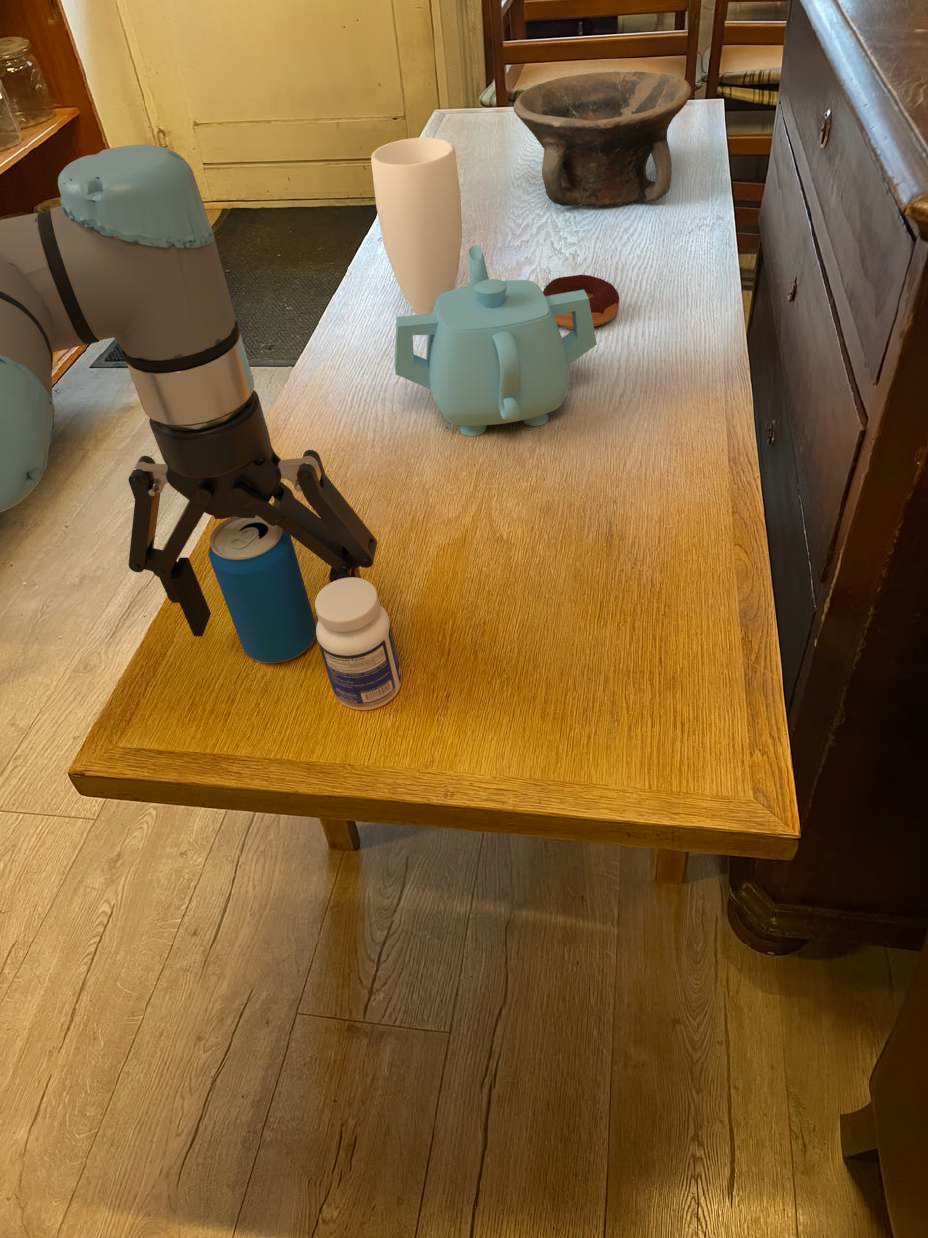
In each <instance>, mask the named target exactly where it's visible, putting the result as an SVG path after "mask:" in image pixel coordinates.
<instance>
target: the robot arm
mask: <svg viewBox="0 0 928 1238" xmlns="http://www.w3.org/2000/svg"><path fill="white" fill-rule="evenodd" d="M57 186H58V191H59V193H60V194H59V195H60V199H59V203H60V206H56V207H51V208H50V209H49V210H45V211H39V212H35V213H29V214H24V215H20V216H19V215H18V216H14V217H9V218H4V219H0V513H3V512H5V511H8V510H9V509H11V508H14V507H16V506H17V505H18V504H20V503H21V502H23V501H24V500H25V499H26V498H27V497H28V496H29V495H30V494H31V493H32V492H33V491H34V489H35V488H37V486H38V484H39V483H40V481H41V480H42V477H43V476H44V474H45V473H46V470H47V465H48V457H49V455H48V454H49V450H50V444H51V442H52V440H53V437H54V433H55V430H56V423H55V412H56V409H55V408H56V407H55V404H54V402H53V365H54V364H53V363H54V353H57V352H61V351H66V350H69V349H74V348H78V347H82V346H89V345H92V344H95V343H99V342H100V341H103V340H108V339H116V341H117V343H118V346H119V347H120V351H121V354H122V357H123V359H124V361H125V363H126V366H127V368H128V371H129V374H130V377H131V380H132V382H133V385H134V387H135V390H136V393H137V396H138V399H139V400H140V404H141V407H142V409H143V411H144V413H145V415H146V416H148V417H149V426H150V429H151V431H152V434H153V437H154V439H155V442H156V445H157V447H158V450H159V452H160V455H161V458H162V460H163V462H164V463H156V461H155V459H153V458H152V457H151V456H149V455H142V456H140V457H139V459H138V460H137V462H136V464H135V466H134V468H133V470H132V471H131V473H130V475H129V477H128V484H129V486H130V489H131V493H132V495H133V498H134V505H133V506H134V507H133V517H132V526H131V536H130V545H129V546H130V547H129V556H128V568H129V570H130V571H132V572H135V573H142V572H143V571H144V570H145V571H149V572H152V573H153V575H155V576H156V577H157V578H159V580H160V582H161V584H162V587H163V589H164V591H165V593H166V596H167V598H168V600H169V601H170V602H171V603H172V604H179V605H180V608H181V610H182V613H183V614H184V617H185V619H186V622H187V624H188V627H189V628H190V631H191V633H192V636H193V637H199V638H200V637H203V636H204V634H205V631H206V628H207V626H208V623H209V621H210V618H211V616H212V612H211V611H210V608H209V605H208V602H207V600H206V597H205V595H204V593H203V590H202V587H201V585H200V583H199V580H198V578H197V575H196V573H195V571H194V568H193V566H192V563H191V561H190V558H189V557H185V556H184V557H180V555H181V554H182V551H183V550H184V548H185V546H186V544H187V543H188V541H189V539H190V538H191V535H192V534H193V532H194V530H195V529H196V528H197V526H198V524H199V522H200V521H201V520H202V517H203V515H204V514H207V515H208V516H211V517H213V518H214V520H226V519H228V518H230V517H234V516H235V517H240V518H255V516H256V515H258V516H259V517H260V518H262V519H263V520H264V521H266V522H267V523H268V524H270V525H271V526H276V525H277V526H279V527H280V528H282V529H283V530H284V531H286V532H287V533H288V534H290V535H291V538H292V539H295V540H296V541H297V542H299V543H300V544H301V545H302V546H304V547H305V548H306V549H308V550H309V551H310V552H311V553H313V554H314V555H315V556H316V557H318V558H320V560H322V561H323V562H325V563H326V564H327V565H328V566H329V567H331V568H330V570H329V575H328V579H329V583H331V582H333V581H336V580H339V579H342V578H349V577H355V578H361V579H362V574H361V570H360V568H366V569H367V568H371V567H373V565H374V562H375V556H376V551H377V548H378V540H377V538H376V537H375V535H374V534H373V533H372V532H371V531H370V529H369V528H368V527H367V525H366V524H365V523H364V521H363V520H362V519H361V518H360V516H359V515H358V514H357V513H356V512H355V510H354V509H353V507H352V506H351V505H350V504H349V502H348V501H347V500H346V499H345V498H344V496H343V495H342V494H341V492H340V490H339V489H337V487H336V486H335V485H334V483H333V482H332V481H331V479H329V477H328V476H327V474H326V472H325V468H324V466H323V462H322V459H321V456H320V454H319V453H318V452H317V451H316V450H313V449H307V450H305V451H304V452H303V455H302V457H299V458H289V459H281V457H280V456H279V455H278V454H277V453H276V452H275V451H274V449H273V446H272V442H271V437H270V432H269V429H268V426H267V421H266V418H265V414H264V411H263V407H262V404H261V400H260V398H259V394H258V393H257V391H256V390H255V382H254V381H255V379H254V377H253V376H254V375H253V374H252V370H251V366H250V363H249V358H248V356H247V351H246V349H245V345H244V340H243V338H242V335H241V331H240V329H239V324H238V322H237V317H236V313H235V309H234V305H233V302H232V298H231V295H230V292H229V287H228V284H227V279H226V276H225V272H224V269H223V265H222V260H221V258H220V253H219V249H218V246H217V241H216V239H215V234H214V231H213V228H212V225H211V223H210V220H209V219H210V218H209V216H208V213H207V211H206V210H207V209H206V208H205V204H204V201H203V199H202V198H203V197H202V195H201V192H200V190H199V189H200V188H199V186H198V183H197V180H196V177H195V175H194V172H193V169H192V167H191V166H190V164H189V162H187V161H186V160H185V158H184V157H182V156H181V155H180V154H179V153H178V152H176V151H174V150H173V149H170V148H168V147H165V146H160V145H154V144H130V145H122V146H117V147H111V148H110V147H109V148H106V149H103V150H100V151H99V152H98V153H94V154H89V155H85V156H81V157H79V158H77V159H75V160H73V161H71V162H70V163H68V164H67V165H66V166H65V167H64V168H63V169H62V170H61V172H60V173H59V174H58V177H57ZM283 479H284V480H288V481H289V482H290V483H291V484H292V485H293V486H294V490H295V491H296V492H302V495H303V497H304V498H305V500H306V502H307V503H308V505H309V506H310V507H311V508H312V510H314V512H313V511H312V510H311V509H310V508H309V507H307V506H306V505H305V504H304V503H303V502H301V501H300V500H298V498H296V497H295V496H294V493H293V491H292V489H291V488H289V486H288V485H286V484H285V483H284V482H282V480H283ZM167 483H168V484H169V485H170V487H171V488H173V489H174V490H175V491H176V492H178V493H179V494H180V495H181V496H183V497H184V498H185V499H187V504H186V505H185V507H184V509H183V511H182V512H181V515H180V516H179V519H178V520H177V522H176V524H175V525H174V527H173V529H172V531H171V533H170V535H169V537H168V539H167V540H166V542H165V544H164V546H163V547H162V549H159V548H155V540H156V532H157V526H158V525H157V524H158V517H159V509H160V502H161V493H162V492H163V490H164V488H165V487H166V485H167ZM272 498H273V500H274V501H273V503H270V501H271V499H272Z"/></svg>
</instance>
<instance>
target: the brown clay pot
mask: <svg viewBox="0 0 928 1238" xmlns="http://www.w3.org/2000/svg"><path fill="white" fill-rule="evenodd" d="M691 94H692V87H691V85H690V84H689V82H688V81H687V80H686V79H684V78H682V77H678V76H675V75H672V74H667V73H666V74H664V73H655V72H647V71H617V70H614V71H604V72H589V73H579V74H574V75H568V76H562V77H558V78H554V79H550V80H548V81H545V82H541V83H537V84H535V85H532V86H531V87H528V88H526V89H525V90H524V91H522V92H521V93H520V94H519V95H518V97H517V98H516V100H515V101H514V103H513V106H512V107H513V111H514V113H515V115H516V116H517V117H518V118H519V119H520V121H521V122H522V123H523V124H524V125H525V127H526V128H527V129H528V130H529V132H530V133H531V134H532V135H533V136H534V137H535V139H536V140H537V142H538V143H539V145H540V146H541V147H542V148H543V150H544V151H543V157H542V165H541V177H542V180H543V185H544V189H545V194H546V195H547V197H548V199H549V200H550V201H551V202H552V203H553V204H555V205H558V206H561V207H570V206H571V207H576V206H579V205H580V206H584V207H615V206H616V207H617V206H620V205H626V204H632V203H641V204H645V203H654V202H657V201H659V200H661V199H663V198H664V197H665V196H666V195H667V194H668V192H669V190H670V189H671V185H672V178H673V177H672V176H673V163H672V156H671V155H672V154H671V149H670V145H669V142H668V131H669V130H668V129H669V127H670V125H671V123H672V121H673V120H674V119H675V117H676V116H677V115H678V114H679V113H680V112H681V111H682V110H683V108H684V107H685V106H686V104H687V103H688V101H689V99H690V96H691ZM650 156H651V157H652V161H653V164H654V166H655V181H654V180H653V181H652V180H650V179H649V178H648V174H647V163H648V161H649V158H650Z"/></svg>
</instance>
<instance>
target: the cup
mask: <svg viewBox="0 0 928 1238" xmlns="http://www.w3.org/2000/svg"><path fill="white" fill-rule="evenodd" d="M370 163H371V171H372V172H371V173H372V181H373V189H374V199H375V207H376V212H377V217H378V221H379V227H380V232H381V237H382V244H383V246H384V250H385V252H386V255H387V258H388V261H389V264H390V266H391V270H392V273H393V275H394V278H395V280H396V282H397V284H398V286H399V288H400V290H401V293H402V294H403V297H404V299H405V301H406V302H407V303H408V305H409V307H410V309H411V311H412V312H413V313H414V314H415V315H422V314H432V312H433V307H434V304H435V301H436V298H437V297H438V296H439V295H440V294H442V293H444V292H447V291H450V290H453V289H456V288H455V287H456V284H457V279H458V275H459V269H460V258H461V249H462V242H463V241H462V239H463V225H462V223H463V222H462V221H463V220H462V196H461V187H460V180H459V170H458V162H457V153H456V148H455V146H454V144H453V143H452V142H450V141H448V140H446V139H444V138H443V139H442V138H437V137H412V138H404V139H400V140H395V141H391V142H389V143H386V144H384V145H381V146H379V147H377V148H376V149H375V150H374V151H373V152H372V153H371V156H370Z"/></svg>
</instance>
